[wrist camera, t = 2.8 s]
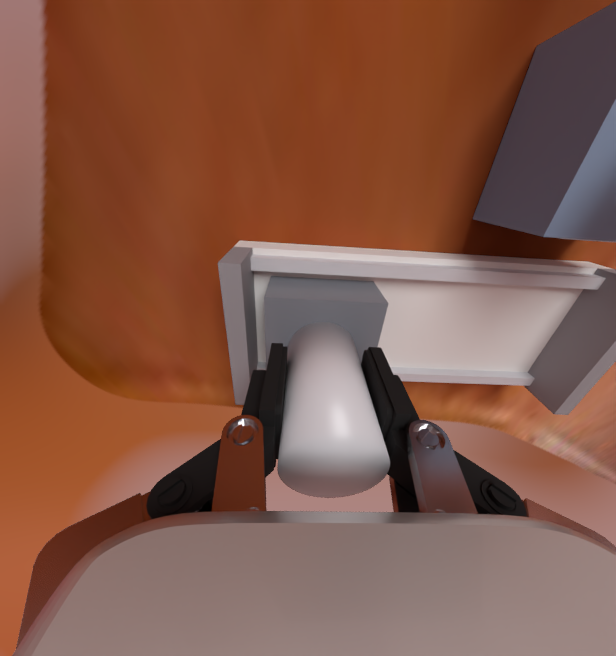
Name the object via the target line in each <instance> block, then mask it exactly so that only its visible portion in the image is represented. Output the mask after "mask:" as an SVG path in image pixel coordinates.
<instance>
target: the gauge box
mask: <svg viewBox="0 0 616 656" xmlns="http://www.w3.org/2000/svg"><path fill="white" fill-rule="evenodd" d="M473 220H477V221H481V222H485V223H489V224H493V225H497V226H501V227H505V228H509V229H513V230H517V231H521V232H525V233H529V234H534V235H538V236H542V237H552V238H560V239H572V240H587V241H603V242H616V2H614V3H612V4H611V5H609V6H607V7H605V8H603V9H602V10H600V11H598V12H596V13H594V14H593V15H591V16H589V17H587V18H586V19H584V20H582V21H580V22H578V23H577V24H575V25H573V26H571V27H570V28H568V29H566V30H564V31H562V32H561V33H559V34H557V35H555V36H553V37H552V38H550V39H548V40H546V41H545V42H543V43H541V44H539V45H537V47H536V50H535V52H534V55H533V58H532V60H531V63H530V66H529V68H528V71H527V74H526V76H525V79H524V82H523V84H522V87H521V90H520V93H519V95H518V98H517V101H516V103H515V106H514V109H513V111H512V114H511V117H510V119H509V122H508V125H507V127H506V130H505V133H504V135H503V138H502V141H501V144H500V146H499V149H498V152H497V154H496V157H495V160H494V162H493V165H492V168H491V170H490V173H489V176H488V178H487V181H486V184H485V187H484V189H483V192H482V195H481V197H480V200H479V203H478V205H477V208H476V211H475V213H474V216H473Z"/></svg>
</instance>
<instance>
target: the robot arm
mask: <svg viewBox="0 0 616 656" xmlns="http://www.w3.org/2000/svg"><path fill="white" fill-rule="evenodd" d="M361 367H362V370H363V374H364V377H365V380H366V383H367V387H368V390H369V393H370V396H371V400H372V403H373V406H374V409H375V413H376V416H377V419H378V422H379V426H380V429H381V432H382V435H383V439H384V442H385V445H386V449H387V452H388V455H389V459H390V468H389V471H388V473H387V474H388V475H389V476H390V477H389V480H390V488H391V495H392V503H393V510H394V512H317V511H316V512H314V511H311V512H310V511H266V484H265V477H266V476H268V475H269V474H270V473H271V472H272V471H273V470H274V467H275V465H276V459H278V457H279V446H280V436H281V428H282V416H283V405H284V393H285V382H286V370H287V346H283V343H272V344H271V349H270V354H269V359H268V364H267V370H253V372H252V376H251V380H250V383H249V387H248V391H247V395H246V399H245V403H244V407H243V410H242V414H241V416H237V417H235V418H233V419H231V420H230V421H229V422H228V423H227V424H226V425H225V427H224V428H223V431H222V436H221V439H220V440H218V441H217V442H215V443H214V444H212V445H211V446H209V447H208V448H206V449H205V450H203V451H202V452H200V453H199V454H197V455H196V456H194V457H193V458H192V459H190V460H189V461H187V462H186V463H184V464H183V465H181V466H180V467H178V468H177V469H175V470H174V471H172V472H171V473H169V474H168V475H166V476H165V477H163V478H162V479H161V480H160V481H159V482H157V484H156V485H155V486H154V487H153V489H152V490H151V491H150V492H148V493H146V494H144V495H141V494H140V493H139V494H136V495H135V496H132V497H130V498H128V499H126V500H124V501H122V502H120V503H117V504H115V505H113V506H111V507H109V508H107V509H105V510H103V511H101V512H98V513H96V514H95V515H92V516H90V517H88V518H86V519H84V520H82V521H80V522H77V523H75V524H73V525H71V526H69V527H67V528H65V529H64V530H62V531H61V532H59V533H57V534H56V535H55V536H54V537H53V538H52V539H51V540H50V541H48V542H47V543H46V545H45V546H44V547H43V549H42V550H41V551H40V553H39V554H38V556H37V558H36V561H35V564H34V566H33V571H32V576H31V580H30V586H29V590H28V595H27V599H26V604H25V609H24V614H23V618H22V624H21V628H20V633H19V637H18V643H17V647H16V650H15V652H14V654H13V655H12V656H616V547H615V546H614V545H613V544H612V543H611V542H609V541H608V540H607V539H606V538H605V537H603V536H601V535H600V534H598V533H596V532H595V531H593V530H591V529H589V528H587V527H584V526H583V525H581V524H578V523H576V522H574V521H572V520H570V519H568V518H566V517H564V516H562V515H560V514H558V513H556V512H553V511H552V510H550V509H547V508H545V507H543V506H541V505H539V504H537V503H535V502H533V501H531V500H529V499H527V498H526V499H525V500H524V501H523V500H521V499H520V497H519V495H517V493H516V492H515V491H514V490H513V489H512V488H511V487H509V486H508V485H507V484H505V483H504V482H503V481H501V480H499V479H498V478H496V477H495V476H493V475H492V474H490V473H489V472H487V471H485V470H484V469H482V468H481V467H479V466H478V465H476V464H475V463H473V462H472V461H470V460H468V459H467V458H465V457H464V456H462V455H461V454H459V453H457V452H456V451H454V450H453V448H452V445H451V443H450V440H449V438H448V436H447V434H446V433H445V432H444V431H443V430H442V429H441V428H440V427H439V426H437V425H436V424H434V423H432V422H429V421H426V420H420V419H419V417H418V415H417V413H416V411H415V408H414V406H413V404H412V402H411V400H410V398H409V396H408V394H407V392H406V390H405V388H404V386H403V383H402V381H401V379H400V378H399V376H398V375H393V372H392V370H391V368H390V366H389V364H388V361H387V359H386V357H385V355H384V353H383V350H382V348H380V347H369V348H368V350H364V353H363V357H362V362H361Z"/></svg>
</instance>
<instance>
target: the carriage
mask: <svg viewBox="0 0 616 656" xmlns="http://www.w3.org/2000/svg"><path fill="white" fill-rule="evenodd" d="M388 304H389V303H388V302H387V300H386V299H385V298H384V296H383V295H382V293H381V292H380V290H379V289H378V287H377V286H376V284H375V283H374V281H358V280H340V279H321V278H303V277H285V276H271V277H270V280H269V283H268V286H267V289H266V292H265V296H264V315H265V347H266V370H267V364H268V359H269V354H270V349H271V344H272V343H283V346H287V370H286V382H285V393H284V405H283V416H282V428H281V436H280V446H279V457H278V474H279V477H280V478H281V480H282V481H283V482H284V483H285V484H286V485H287V486H288V487H290V488H291V489H293V490H295V491H297V492H299V493H302V494H305V495H309V496H314V497H325V498H333V497H334V498H335V497H344V496H350V495H354V494H357V493H360V492H363V491H366V490H368V489H370V488H372V487H373V486H375V485H376V484H378V483H379V482H380V481H381V480H382V479H383V478H384V477H385V476H386V474H387V473H388V471H389V468H390V459H389V455H388V452H387V449H386V445H385V442H384V439H383V435H382V432H381V429H380V426H379V422H378V419H377V416H376V413H375V409H374V406H373V403H372V400H371V396H370V393H369V390H368V387H367V383H366V380H365V377H364V374H363V370H362V367H361V362H362V357H363V353H364V350H368V348H369V347H378V343H379V339H380V335H381V331H382V327H383V323H384V319H385V315H386V311H387V307H388Z"/></svg>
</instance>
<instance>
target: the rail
mask: <svg viewBox="0 0 616 656" xmlns="http://www.w3.org/2000/svg"><path fill="white" fill-rule="evenodd" d="M218 268H219V276H220V284H221V292H222V300H223V308H224V316H225V324H226V332H227V340H228V348H229V356H230V364H231V372H232V380H233V388H234V396H235V404H236V405H244V403H245V399H246V395H247V391H248V387H249V383H250V380H251V376H252V372H253V370H266V347H265V315H264V296H265V292H266V289H267V286H268V283H269V280H270V277H271V276H285V277H303V278H321V279H340V280H358V281H374V283H375V284H376V286H377V287H378V289H379V290H380V292H381V293H382V295H383V296H384V298H385V299H386V300H387V302H388V303H389V304H388V307H387V311H386V315H385V319H384V323H383V327H382V331H381V335H380V339H379V343H378V347H380V348H382V350H383V353H384V355H385V357H386V359H387V361H388V364H389V366H390V368H391V370H392V372H393V375H398V376H399V378H400V379H401V381H412V382H440V383H467V384H495V385H523V386H525V387H526V388H527V389H528V390H529V391H530V392H531V393H532V394H533V395H534V396H535V397H536V398H537V399H538V400H539V401H540V402H541V403H543V404H544V405H545V406H546V407H547V408H548V409H549V410H550V411H551V412H552V413H553V414H562V415H568V414H569V413H570V412H571V411H572V410H573V409H574V407H575V406H576V405H577V404H578V403H579V402H580V401H581V400H582V398H583V397H584V396H585V395H586V394H587V393H588V392H589V391H590V389H591V388H592V387H593V386H594V385H595V384H596V383H597V382H598V380H599V379H600V378H601V377H602V376H603V375H604V374H605V373H606V371H607V370H608V369H609V368H610V367H611V366H612V365H613V364H614V362H615V361H616V270H615V269H611V268H608V267H605V266H601V265H598V264H594V263H591V262H584V261H567V260H551V259H534V258H518V257H501V256H485V255H469V254H452V253H436V252H419V251H403V250H386V249H370V248H353V247H337V246H320V245H304V244H287V243H271V242H254V241H239V242H238V243H237V244H236V245H235V246H234V247H233V248H232V249H231V250H230V251H229V252H228V253H227V254H226V255H225V256H224V257H223V258H222V259H221V260H220V261H219V262H218Z"/></svg>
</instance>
